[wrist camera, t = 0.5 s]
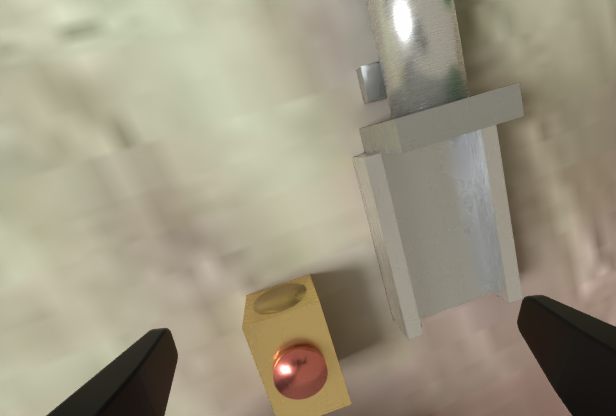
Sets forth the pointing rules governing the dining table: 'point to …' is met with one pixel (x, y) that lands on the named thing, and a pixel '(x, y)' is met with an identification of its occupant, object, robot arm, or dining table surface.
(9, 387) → the dining table surface
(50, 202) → the dining table surface
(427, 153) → the metal bracket
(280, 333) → the button box
